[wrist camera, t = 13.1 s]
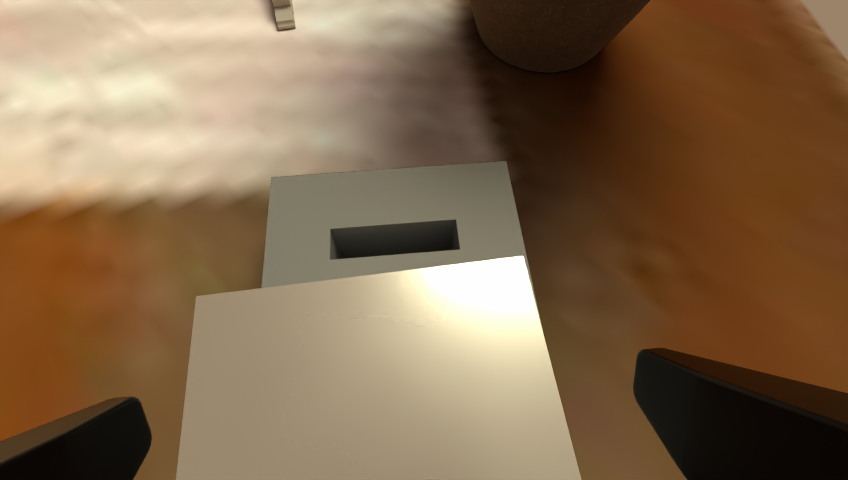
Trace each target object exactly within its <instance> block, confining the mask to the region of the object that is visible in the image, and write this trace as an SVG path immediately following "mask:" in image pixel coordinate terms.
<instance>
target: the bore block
mask: <svg viewBox="0 0 848 480" xmlns="http://www.w3.org/2000/svg"><path fill="white" fill-rule="evenodd" d="M519 256H523V258H524V262H525V265H526V269H527V273H528V277H529V281H530V285H531V288H532V292H533V296H534V300H535V304H536V308H537V311H538V307H537V302H536V297H535V293H534V288H533V283H532V279H531V274H530V269H529V265H528V260H527V256H526V251H525V246H524V242H523V237H522V232H521V228H520V223H519V218H518V214H517V209H516V204H515V200H514V195H513V190H512V186H511V181H510V176H509V172H508V167H507V162H506V161H495V162H481V163H467V164H452V165H438V166H424V167H410V168H396V169H381V170H367V171H353V172H339V173H325V174H310V175H296V176H282V177H271V185H270V196H269V208H268V219H267V231H266V242H265V254H264V265H263V277H262V288H267V287H276V286H284V285H292V284H300V283H308V282H316V281H324V280H332V279H340V278H348V277H357V276H365V275H373V274H381V273H389V272H397V271H405V270H413V269H421V268H430V267H438V266H446V265H454V264H462V263H470V262H478V261H486V260H494V259H503V258H511V257H519ZM538 315H539V311H538ZM539 319H540V316H539ZM540 323H541V321H540ZM541 327H542V325H541ZM542 331H543V330H542Z"/></svg>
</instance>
